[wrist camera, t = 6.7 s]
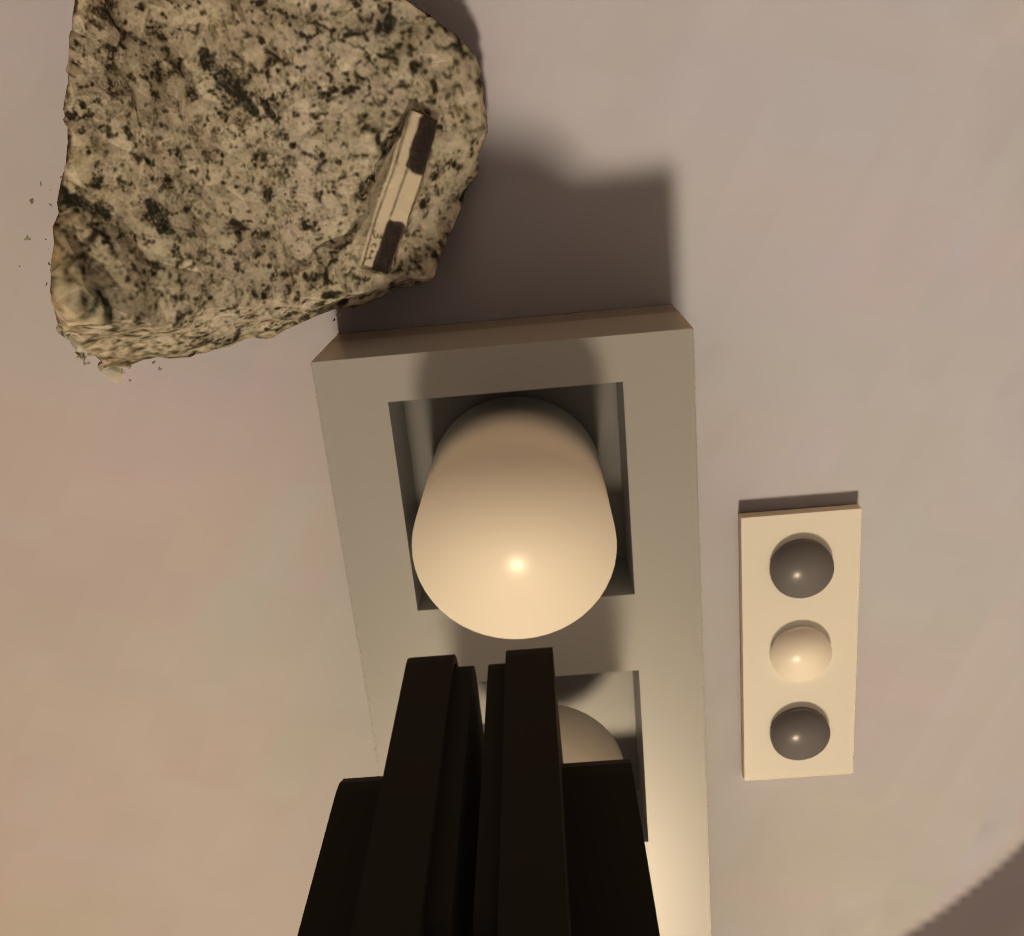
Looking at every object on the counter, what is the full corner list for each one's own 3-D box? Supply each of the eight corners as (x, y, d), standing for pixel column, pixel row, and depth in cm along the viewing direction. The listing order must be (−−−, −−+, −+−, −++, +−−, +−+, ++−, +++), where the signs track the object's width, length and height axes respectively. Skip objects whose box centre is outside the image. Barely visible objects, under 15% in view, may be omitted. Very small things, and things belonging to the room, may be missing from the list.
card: (738, 513, 24) (742, 520, 23) (857, 503, 24) (863, 510, 23) (742, 773, 26) (745, 784, 26) (849, 767, 26) (854, 777, 26)
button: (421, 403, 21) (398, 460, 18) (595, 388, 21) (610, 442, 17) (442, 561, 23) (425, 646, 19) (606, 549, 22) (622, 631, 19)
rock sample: (544, 410, 19) (118, 301, 13) (325, 428, 24) (-51, 358, 18) (577, -65, 20) (198, -380, 14) (360, 52, 25) (16, -137, 19)
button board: (338, 334, 22) (311, 362, 20) (671, 304, 22) (693, 328, 19) (441, 992, 29) (431, 1083, 26) (696, 977, 29) (714, 1068, 26)
